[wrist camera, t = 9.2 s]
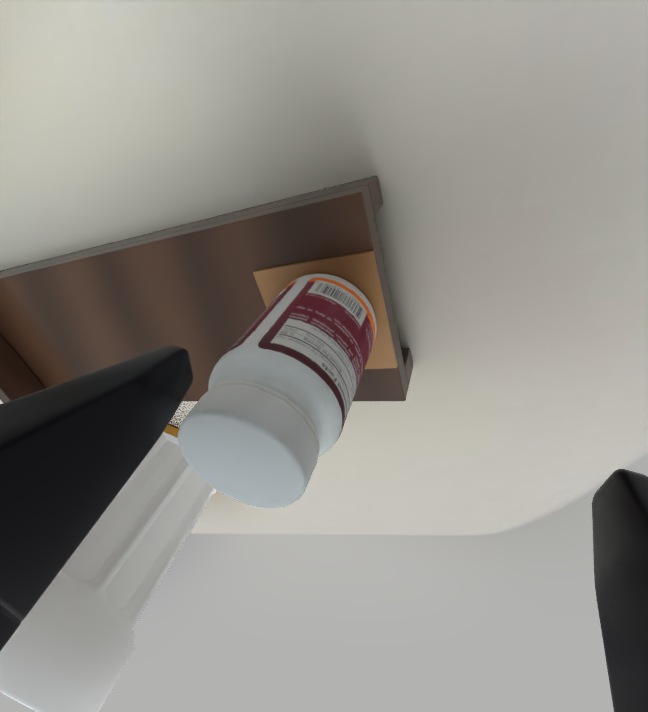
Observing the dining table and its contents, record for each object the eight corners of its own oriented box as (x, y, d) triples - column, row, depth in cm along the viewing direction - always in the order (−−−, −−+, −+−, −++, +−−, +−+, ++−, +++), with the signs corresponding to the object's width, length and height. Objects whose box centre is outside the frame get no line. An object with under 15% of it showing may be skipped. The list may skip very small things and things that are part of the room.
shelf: (378, 175, 16) (343, 209, 12) (413, 366, 21) (397, 436, 17) (-3, 271, 28) (-87, 305, 24) (78, 378, 33) (20, 422, 29)
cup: (125, 458, 39) (-59, 657, 25) (129, 392, 31) (-127, 622, 18) (221, 511, 39) (88, 737, 25) (247, 457, 31) (79, 735, 18)
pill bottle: (302, 367, 19) (214, 512, 13) (263, 283, 17) (134, 407, 11) (392, 356, 17) (341, 524, 11) (360, 258, 15) (272, 395, 8)
